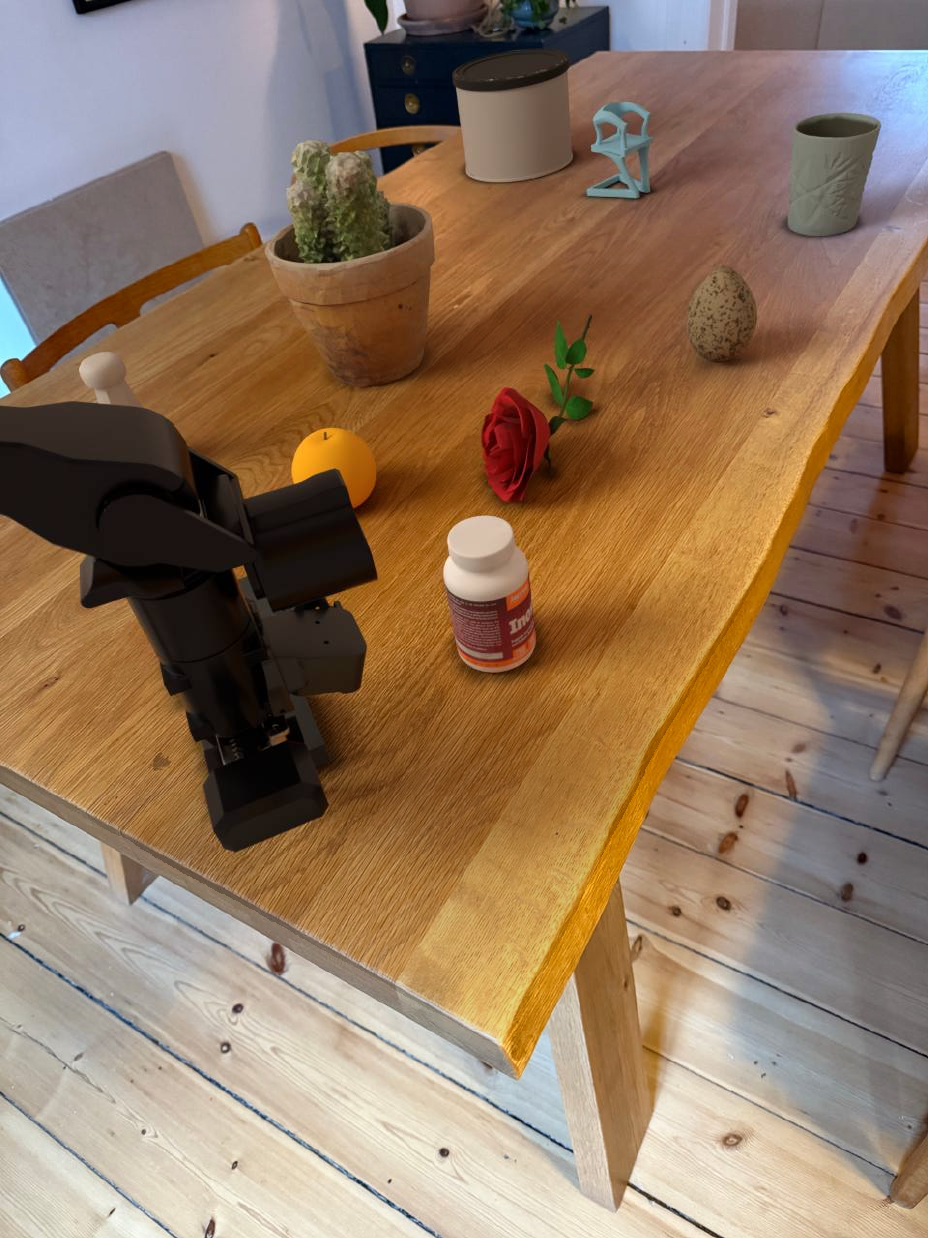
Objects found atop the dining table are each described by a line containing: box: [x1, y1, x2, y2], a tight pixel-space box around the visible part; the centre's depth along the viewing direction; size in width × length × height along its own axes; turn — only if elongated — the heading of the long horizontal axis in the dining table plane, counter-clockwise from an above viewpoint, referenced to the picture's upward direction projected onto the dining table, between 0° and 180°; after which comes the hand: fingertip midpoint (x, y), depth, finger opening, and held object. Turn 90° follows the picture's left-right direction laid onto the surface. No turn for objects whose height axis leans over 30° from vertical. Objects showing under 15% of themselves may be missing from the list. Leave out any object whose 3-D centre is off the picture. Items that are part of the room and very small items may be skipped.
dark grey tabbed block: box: [201, 694, 332, 769], centre depth 65 cm, size 8×10×2 cm
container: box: [451, 48, 574, 183], centre depth 149 cm, size 19×19×15 cm
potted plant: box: [264, 139, 436, 388], centre depth 98 cm, size 18×19×25 cm
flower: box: [480, 314, 596, 503], centre depth 89 cm, size 9×10×30 cm
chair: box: [586, 101, 654, 199], centre depth 133 cm, size 8×8×12 cm
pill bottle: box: [442, 515, 537, 673], centre depth 66 cm, size 6×6×11 cm
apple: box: [291, 427, 377, 509], centre depth 84 cm, size 8×8×8 cm
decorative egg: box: [685, 265, 758, 362], centre depth 93 cm, size 7×7×10 cm
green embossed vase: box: [787, 112, 882, 237], centre depth 114 cm, size 10×10×12 cm
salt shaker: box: [78, 351, 145, 408], centre depth 92 cm, size 6×6×13 cm
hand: (277, 789), depth 61 cm, fingers closed
